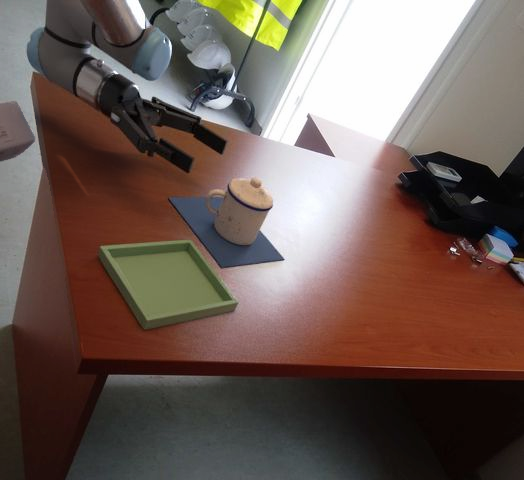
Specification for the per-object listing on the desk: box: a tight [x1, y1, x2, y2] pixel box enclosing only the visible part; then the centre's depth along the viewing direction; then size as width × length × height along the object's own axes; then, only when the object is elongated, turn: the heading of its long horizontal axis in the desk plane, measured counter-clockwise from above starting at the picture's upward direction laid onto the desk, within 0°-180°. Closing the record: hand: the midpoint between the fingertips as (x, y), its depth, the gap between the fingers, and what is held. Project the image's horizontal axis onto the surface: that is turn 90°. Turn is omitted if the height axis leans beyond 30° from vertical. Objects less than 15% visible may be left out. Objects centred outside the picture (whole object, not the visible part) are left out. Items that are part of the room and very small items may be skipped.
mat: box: [167, 196, 285, 269], centre depth 90 cm, size 20×16×1 cm
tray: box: [97, 239, 239, 331], centre depth 72 cm, size 16×17×2 cm
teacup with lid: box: [205, 177, 274, 245], centre depth 85 cm, size 12×9×12 cm
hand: (209, 156), depth 82 cm, fingers open, 13 cm apart
